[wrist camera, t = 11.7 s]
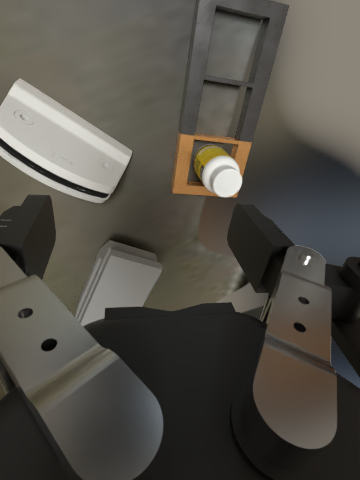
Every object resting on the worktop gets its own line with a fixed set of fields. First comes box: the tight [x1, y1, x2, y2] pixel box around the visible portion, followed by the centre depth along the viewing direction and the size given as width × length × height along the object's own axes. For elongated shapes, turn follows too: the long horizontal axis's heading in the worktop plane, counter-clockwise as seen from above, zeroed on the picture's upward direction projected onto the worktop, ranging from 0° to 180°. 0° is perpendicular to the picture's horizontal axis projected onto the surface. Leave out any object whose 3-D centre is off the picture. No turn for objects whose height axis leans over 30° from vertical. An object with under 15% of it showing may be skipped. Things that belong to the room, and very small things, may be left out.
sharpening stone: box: [74, 240, 163, 326], centre depth 48 cm, size 25×8×11 cm, turn 153°
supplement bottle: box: [193, 144, 242, 197], centre depth 39 cm, size 5×5×10 cm
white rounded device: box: [0, 78, 132, 203], centre depth 35 cm, size 17×5×10 cm, turn 53°
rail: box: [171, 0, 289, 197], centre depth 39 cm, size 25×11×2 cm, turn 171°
